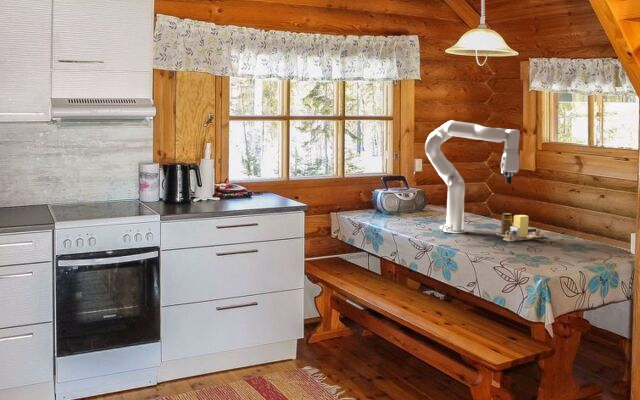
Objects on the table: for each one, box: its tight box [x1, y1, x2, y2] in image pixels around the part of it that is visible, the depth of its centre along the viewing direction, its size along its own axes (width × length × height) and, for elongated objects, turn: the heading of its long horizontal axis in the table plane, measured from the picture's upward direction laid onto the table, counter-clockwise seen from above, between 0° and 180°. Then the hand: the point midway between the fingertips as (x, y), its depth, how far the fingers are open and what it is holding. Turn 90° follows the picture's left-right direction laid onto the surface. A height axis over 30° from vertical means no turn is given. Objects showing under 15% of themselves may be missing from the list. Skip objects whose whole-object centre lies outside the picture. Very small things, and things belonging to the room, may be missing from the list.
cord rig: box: [502, 227, 543, 242], centre depth 385 cm, size 24×5×5 cm, turn 118°
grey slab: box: [510, 225, 520, 239], centre depth 382 cm, size 2×5×6 cm, turn 28°
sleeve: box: [512, 214, 530, 237], centre depth 384 cm, size 6×5×11 cm
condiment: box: [494, 212, 513, 237], centre depth 396 cm, size 7×8×12 cm
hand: (507, 183), depth 394 cm, fingers closed
